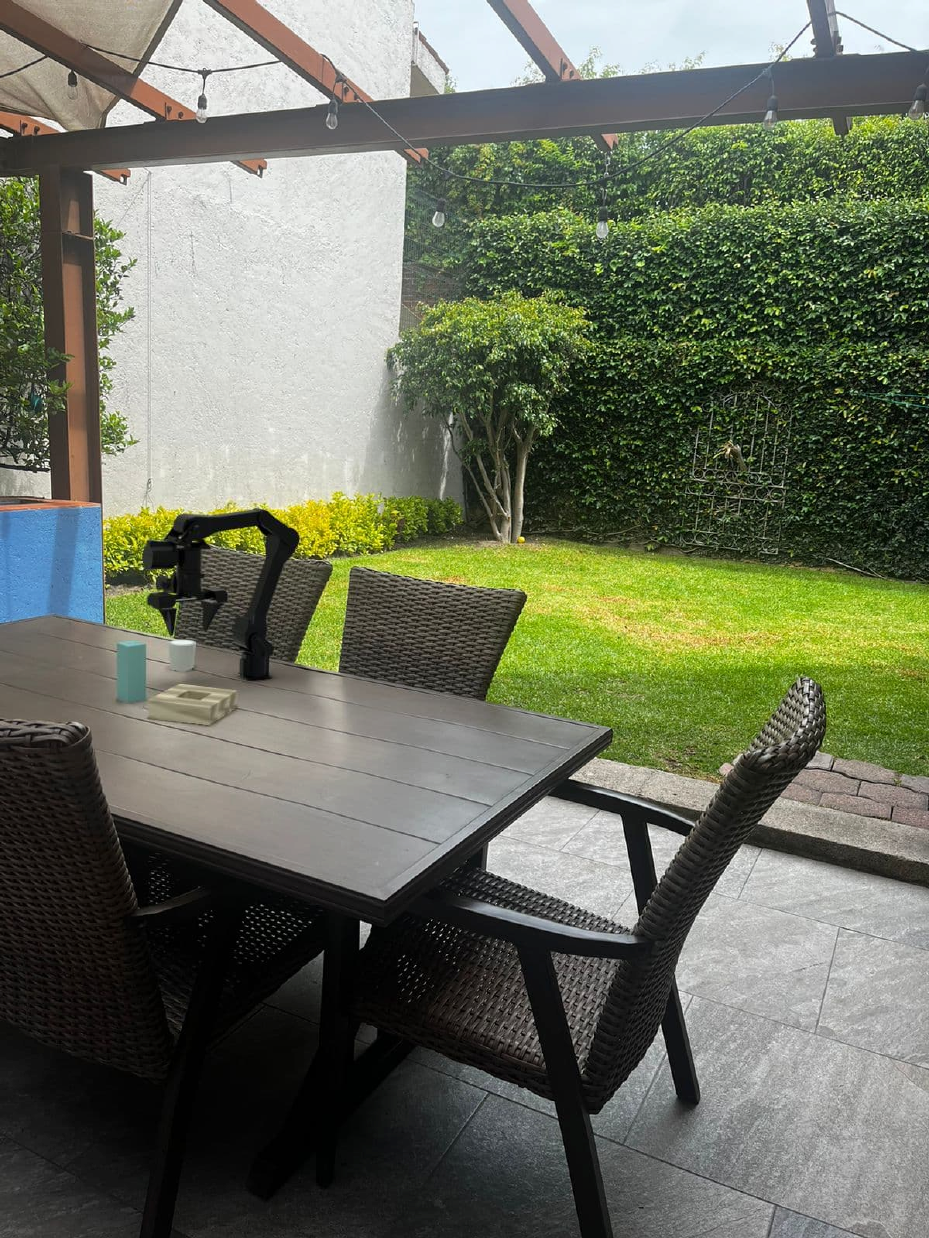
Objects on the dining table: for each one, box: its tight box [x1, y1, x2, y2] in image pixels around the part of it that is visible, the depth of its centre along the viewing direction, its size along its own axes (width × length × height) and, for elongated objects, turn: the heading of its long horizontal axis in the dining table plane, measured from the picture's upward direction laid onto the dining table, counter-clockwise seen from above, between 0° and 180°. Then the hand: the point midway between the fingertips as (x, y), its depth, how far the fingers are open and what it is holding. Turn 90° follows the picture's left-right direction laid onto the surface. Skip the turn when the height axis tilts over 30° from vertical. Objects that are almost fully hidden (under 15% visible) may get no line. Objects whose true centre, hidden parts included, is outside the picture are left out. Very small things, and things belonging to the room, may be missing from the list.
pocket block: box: [147, 683, 238, 726], centre depth 200 cm, size 14×14×4 cm
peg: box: [116, 639, 147, 704], centre depth 206 cm, size 4×4×13 cm
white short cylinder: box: [167, 639, 197, 672], centre depth 235 cm, size 7×7×7 cm
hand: (188, 633), depth 218 cm, fingers open, 9 cm apart
